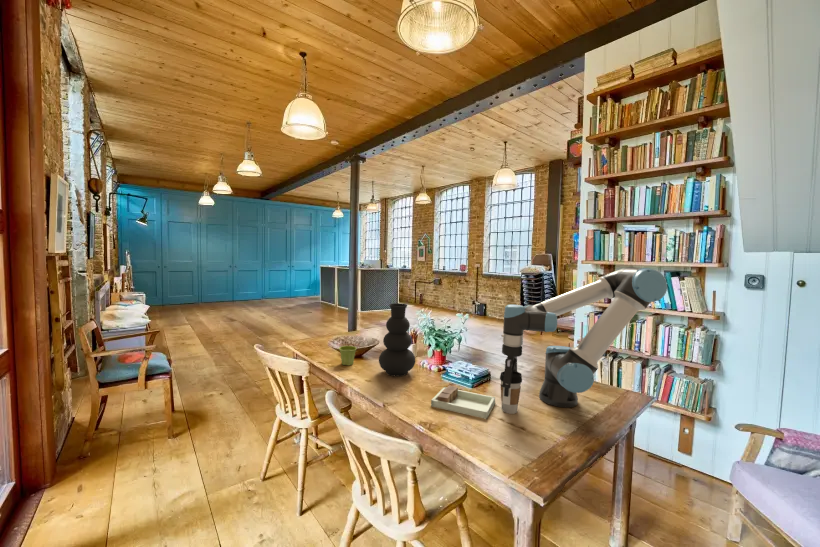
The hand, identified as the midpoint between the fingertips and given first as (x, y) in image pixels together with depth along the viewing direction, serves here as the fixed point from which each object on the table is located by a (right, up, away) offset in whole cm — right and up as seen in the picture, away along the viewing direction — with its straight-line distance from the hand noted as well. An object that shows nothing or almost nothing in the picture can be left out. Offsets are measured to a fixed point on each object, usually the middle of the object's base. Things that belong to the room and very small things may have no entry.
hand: (509, 397), depth 137 cm
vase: (-46, -2, +38) cm, 60 cm away
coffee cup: (0, -5, 0) cm, 5 cm away
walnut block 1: (-26, -4, +1) cm, 26 cm away
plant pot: (-73, 0, +51) cm, 89 cm away
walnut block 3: (-22, -3, +9) cm, 24 cm away
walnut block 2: (-24, -3, +5) cm, 25 cm away
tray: (-18, -5, +2) cm, 18 cm away
